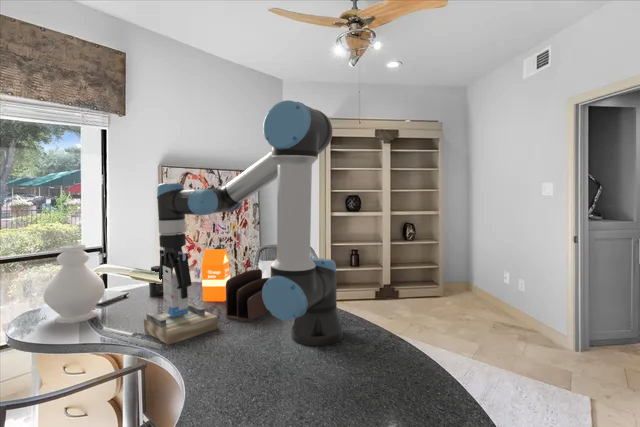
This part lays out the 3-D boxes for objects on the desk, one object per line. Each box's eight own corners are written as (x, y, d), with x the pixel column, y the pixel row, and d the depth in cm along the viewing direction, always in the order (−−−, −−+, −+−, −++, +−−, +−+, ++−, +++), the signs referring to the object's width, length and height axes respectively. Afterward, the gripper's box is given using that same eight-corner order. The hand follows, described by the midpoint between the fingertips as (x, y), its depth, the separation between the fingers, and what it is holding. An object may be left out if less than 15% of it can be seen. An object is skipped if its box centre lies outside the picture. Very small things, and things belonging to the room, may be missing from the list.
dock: (217, 328, 117) (217, 309, 117) (168, 344, 105) (167, 324, 105) (192, 317, 128) (191, 300, 127) (144, 331, 116) (143, 312, 116)
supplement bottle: (147, 294, 157) (145, 266, 156) (163, 291, 161) (162, 264, 160) (152, 298, 152) (151, 269, 151) (169, 294, 156) (168, 266, 155)
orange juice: (209, 295, 154) (207, 247, 153) (230, 295, 154) (229, 247, 152) (202, 301, 146) (200, 251, 145) (224, 301, 146) (223, 250, 144)
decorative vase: (43, 316, 131) (38, 246, 130) (100, 305, 143) (96, 241, 141) (48, 330, 118) (43, 252, 116) (111, 317, 129) (107, 246, 128)
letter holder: (225, 318, 127) (224, 277, 126) (261, 302, 144) (260, 266, 144) (249, 322, 122) (247, 280, 121) (282, 305, 140) (281, 268, 139)
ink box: (189, 313, 114) (187, 266, 113) (172, 317, 111) (170, 269, 110) (179, 307, 121) (177, 262, 120) (163, 310, 118) (161, 264, 117)
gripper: (201, 234, 110) (205, 309, 111) (168, 230, 125) (171, 296, 126) (177, 237, 104) (181, 316, 106) (145, 232, 119) (148, 301, 120)
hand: (175, 305), depth 116 cm, fingers closed on ink box, 9 cm apart
